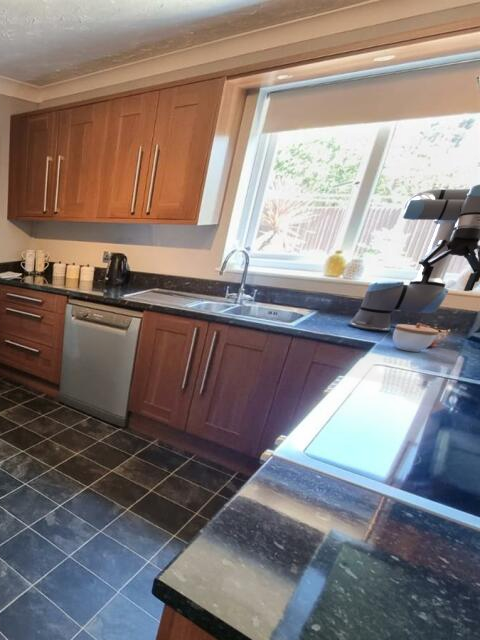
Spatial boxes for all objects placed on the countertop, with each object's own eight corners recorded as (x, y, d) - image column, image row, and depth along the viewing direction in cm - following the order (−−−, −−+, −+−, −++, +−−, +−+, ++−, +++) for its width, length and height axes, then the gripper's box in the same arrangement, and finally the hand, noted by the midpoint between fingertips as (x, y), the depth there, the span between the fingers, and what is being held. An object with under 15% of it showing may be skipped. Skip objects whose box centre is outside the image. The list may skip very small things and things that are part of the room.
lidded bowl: (433, 355, 168) (446, 328, 164) (391, 349, 174) (402, 323, 170) (423, 348, 178) (435, 322, 174) (383, 343, 184) (394, 318, 180)
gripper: (434, 222, 156) (412, 280, 160) (521, 232, 149) (495, 292, 153) (420, 227, 163) (399, 282, 167) (502, 236, 156) (478, 294, 160)
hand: (445, 287), depth 160 cm, fingers open, 13 cm apart
